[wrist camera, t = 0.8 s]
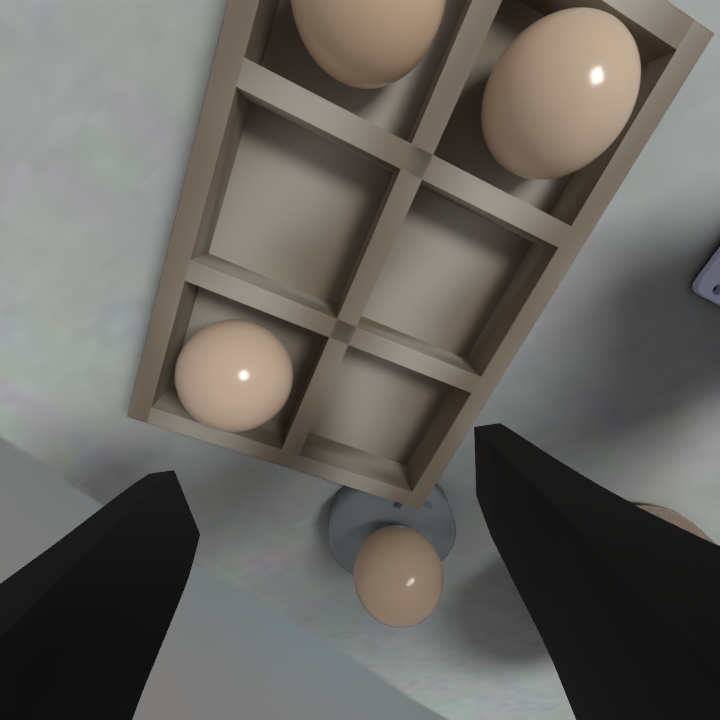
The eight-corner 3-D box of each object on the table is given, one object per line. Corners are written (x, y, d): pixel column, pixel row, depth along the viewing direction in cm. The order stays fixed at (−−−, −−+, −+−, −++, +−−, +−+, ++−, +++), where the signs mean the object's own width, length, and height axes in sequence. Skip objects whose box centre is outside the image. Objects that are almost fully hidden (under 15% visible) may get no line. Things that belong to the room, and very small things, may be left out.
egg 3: (607, 81, 14) (719, 28, 10) (539, 202, 15) (612, 202, 11) (503, 16, 13) (578, -70, 9) (442, 152, 14) (482, 131, 10)
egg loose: (446, 519, 21) (472, 597, 16) (410, 574, 22) (425, 658, 18) (372, 496, 20) (379, 572, 16) (339, 554, 21) (339, 637, 17)
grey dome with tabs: (470, 489, 22) (483, 517, 20) (415, 572, 24) (422, 604, 22) (358, 451, 20) (359, 477, 18) (311, 542, 23) (308, 574, 21)
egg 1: (312, 329, 17) (303, 369, 13) (279, 410, 18) (262, 470, 14) (214, 290, 16) (169, 320, 12) (187, 379, 17) (140, 432, 13)
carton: (642, 66, 14) (714, 33, 12) (409, 468, 21) (419, 509, 18) (303, -151, 12) (291, -260, 9) (159, 384, 18) (127, 416, 16)
